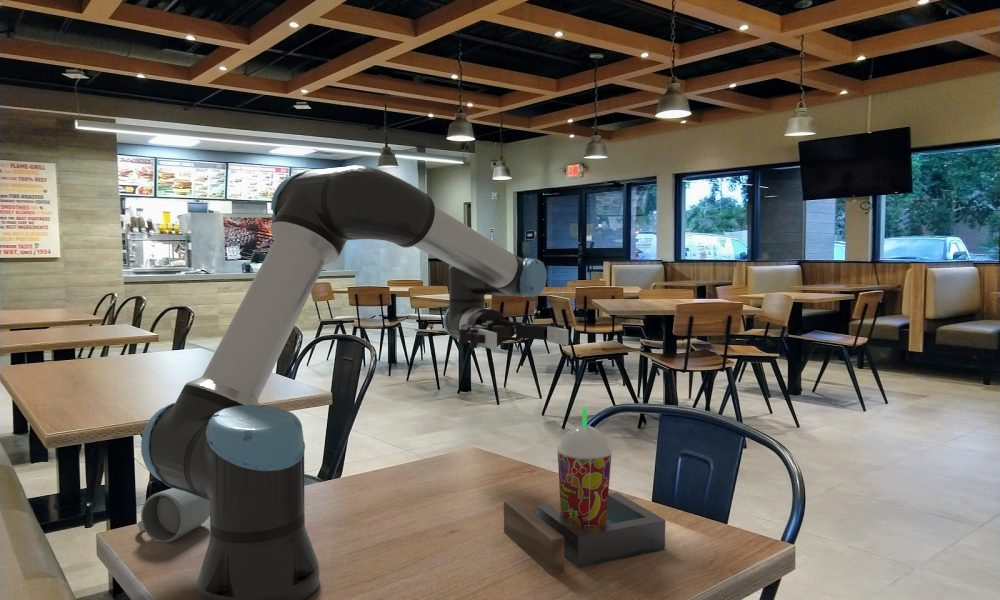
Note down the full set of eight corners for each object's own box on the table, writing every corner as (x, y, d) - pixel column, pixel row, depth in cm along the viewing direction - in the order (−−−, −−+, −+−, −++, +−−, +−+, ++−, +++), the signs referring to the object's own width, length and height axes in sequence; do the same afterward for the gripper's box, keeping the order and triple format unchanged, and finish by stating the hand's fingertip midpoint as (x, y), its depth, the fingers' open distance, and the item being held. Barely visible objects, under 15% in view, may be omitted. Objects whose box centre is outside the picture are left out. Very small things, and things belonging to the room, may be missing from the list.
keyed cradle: (578, 567, 95) (578, 536, 95) (530, 528, 109) (530, 501, 109) (664, 549, 101) (665, 519, 101) (609, 514, 115) (609, 488, 115)
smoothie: (549, 528, 107) (549, 404, 106) (597, 523, 110) (599, 401, 108) (567, 550, 99) (568, 416, 98) (619, 544, 102) (621, 413, 100)
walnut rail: (551, 575, 93) (551, 539, 93) (503, 532, 107) (503, 501, 107) (564, 572, 94) (564, 537, 93) (515, 529, 108) (515, 499, 108)
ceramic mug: (217, 524, 110) (215, 478, 110) (182, 545, 102) (180, 495, 102) (161, 520, 113) (159, 474, 112) (123, 540, 105) (121, 491, 104)
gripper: (539, 343, 140) (594, 357, 120) (423, 349, 130) (462, 365, 110) (540, 307, 139) (594, 315, 120) (423, 310, 129) (462, 319, 110)
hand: (531, 339), depth 115 cm, fingers open, 13 cm apart
